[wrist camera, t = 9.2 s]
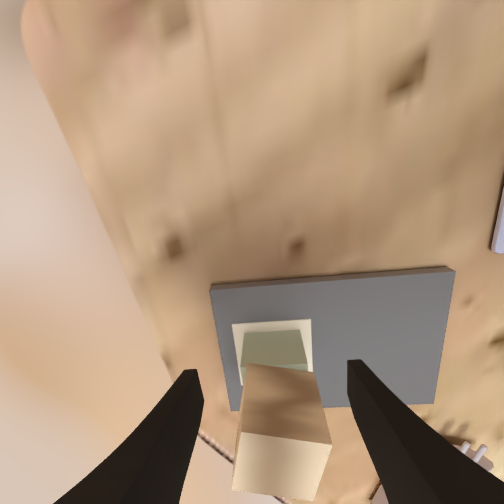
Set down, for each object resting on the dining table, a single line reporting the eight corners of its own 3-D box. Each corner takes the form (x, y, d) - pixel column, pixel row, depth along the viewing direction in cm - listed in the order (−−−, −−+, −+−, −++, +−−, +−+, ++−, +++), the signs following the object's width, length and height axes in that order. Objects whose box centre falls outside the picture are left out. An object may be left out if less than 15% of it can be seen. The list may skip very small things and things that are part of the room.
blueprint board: (446, 266, 20) (456, 271, 19) (426, 394, 24) (434, 404, 23) (211, 284, 22) (208, 290, 20) (232, 402, 26) (230, 412, 25)
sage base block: (299, 329, 21) (307, 363, 17) (302, 374, 23) (310, 414, 19) (244, 333, 22) (240, 367, 18) (250, 376, 23) (247, 416, 19)
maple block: (314, 372, 18) (332, 444, 13) (300, 420, 19) (312, 501, 15) (246, 362, 18) (240, 432, 13) (239, 412, 19) (231, 489, 15)
